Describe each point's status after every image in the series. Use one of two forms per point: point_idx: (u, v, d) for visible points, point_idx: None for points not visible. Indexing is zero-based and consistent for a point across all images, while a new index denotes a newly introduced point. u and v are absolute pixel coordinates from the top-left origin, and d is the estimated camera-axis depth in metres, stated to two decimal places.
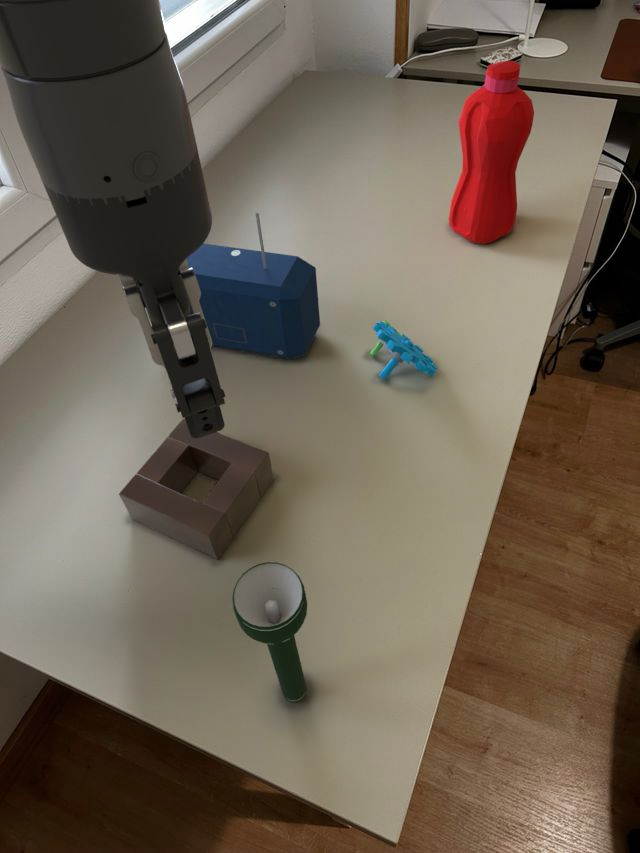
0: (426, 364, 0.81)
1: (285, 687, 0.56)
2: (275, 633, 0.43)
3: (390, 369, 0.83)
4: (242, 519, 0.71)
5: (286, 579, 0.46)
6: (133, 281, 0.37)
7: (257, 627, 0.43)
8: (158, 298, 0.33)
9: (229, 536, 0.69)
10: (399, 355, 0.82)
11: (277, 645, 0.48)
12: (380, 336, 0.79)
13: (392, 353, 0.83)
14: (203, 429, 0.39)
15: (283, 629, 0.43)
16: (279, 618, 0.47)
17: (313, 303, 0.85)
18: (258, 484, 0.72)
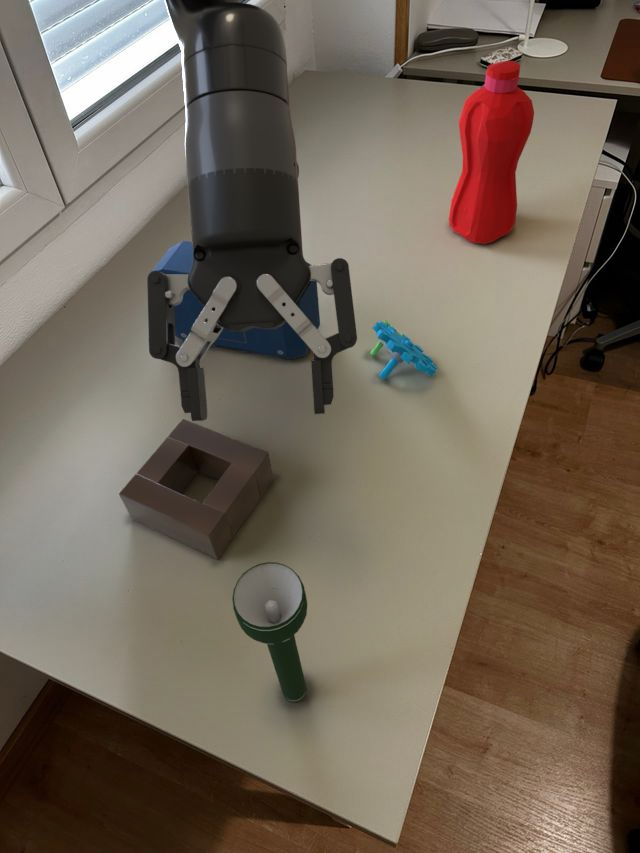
0: (426, 364, 0.81)
1: (285, 687, 0.56)
2: (275, 633, 0.43)
3: (390, 369, 0.83)
4: (242, 519, 0.71)
5: (286, 579, 0.46)
6: (234, 295, 0.44)
7: (257, 627, 0.43)
8: None
9: (229, 536, 0.69)
10: (399, 355, 0.82)
11: (277, 645, 0.48)
12: (380, 336, 0.79)
13: (392, 353, 0.83)
14: None
15: (283, 629, 0.43)
16: (279, 618, 0.47)
17: (313, 303, 0.85)
18: (258, 484, 0.72)
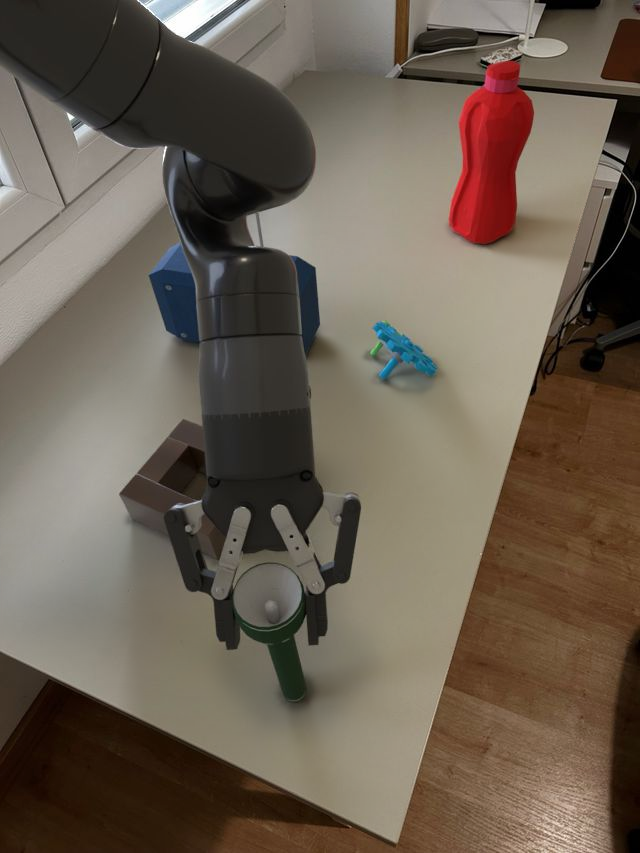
0: (426, 364, 0.81)
1: (285, 687, 0.56)
2: (275, 633, 0.43)
3: (390, 369, 0.83)
4: None
5: (286, 579, 0.46)
6: (250, 520, 0.44)
7: (256, 627, 0.43)
8: None
9: None
10: (399, 355, 0.82)
11: (276, 645, 0.48)
12: (380, 336, 0.79)
13: (392, 353, 0.83)
14: None
15: (283, 629, 0.43)
16: (279, 618, 0.47)
17: (313, 303, 0.85)
18: None
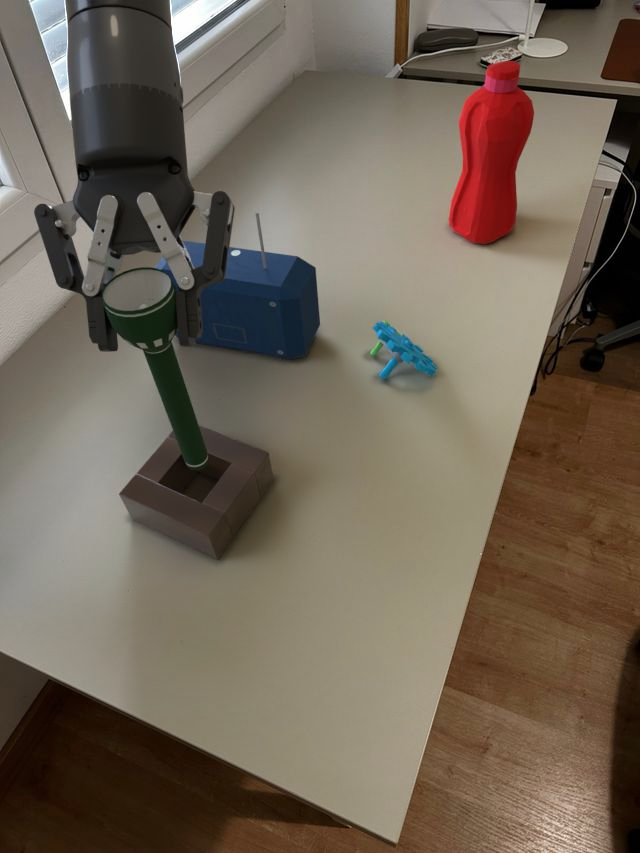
0: (426, 364, 0.81)
1: (181, 442, 0.56)
2: (141, 321, 0.43)
3: (390, 369, 0.83)
4: (242, 519, 0.71)
5: (160, 286, 0.46)
6: (119, 213, 0.44)
7: (122, 311, 0.43)
8: None
9: (229, 536, 0.69)
10: (399, 355, 0.82)
11: (157, 365, 0.49)
12: (380, 336, 0.79)
13: (392, 353, 0.83)
14: (198, 326, 0.46)
15: (149, 317, 0.43)
16: None
17: (313, 303, 0.85)
18: (258, 484, 0.72)
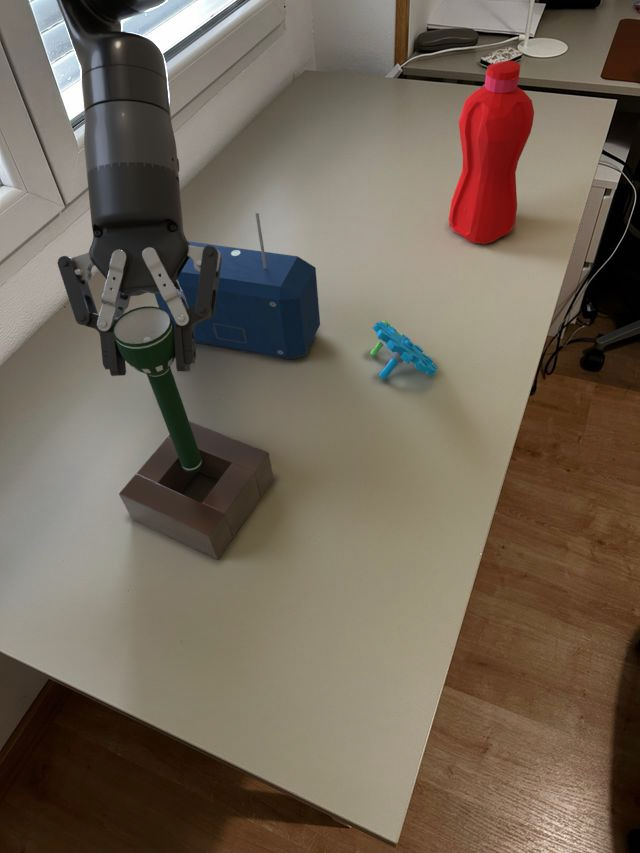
0: (426, 364, 0.81)
1: (178, 449, 0.66)
2: (145, 351, 0.53)
3: (390, 369, 0.83)
4: (242, 519, 0.71)
5: (161, 321, 0.56)
6: (127, 263, 0.54)
7: (130, 344, 0.53)
8: None
9: (229, 536, 0.69)
10: (399, 355, 0.82)
11: (158, 386, 0.59)
12: (380, 336, 0.79)
13: (392, 353, 0.83)
14: (192, 355, 0.56)
15: (152, 348, 0.53)
16: None
17: (313, 303, 0.85)
18: (258, 484, 0.72)
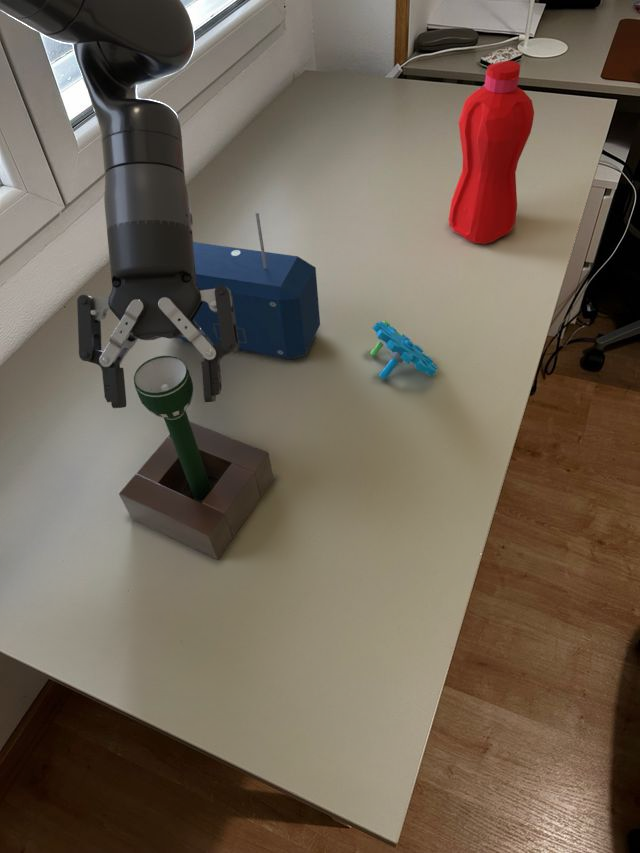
0: (426, 364, 0.81)
1: (191, 483, 0.70)
2: (164, 399, 0.58)
3: (390, 369, 0.83)
4: (242, 519, 0.71)
5: (177, 369, 0.61)
6: (142, 313, 0.58)
7: (149, 393, 0.57)
8: None
9: (229, 536, 0.69)
10: (399, 355, 0.82)
11: (174, 428, 0.63)
12: (380, 336, 0.79)
13: (392, 353, 0.83)
14: None
15: (170, 397, 0.58)
16: None
17: (313, 303, 0.85)
18: (258, 484, 0.72)
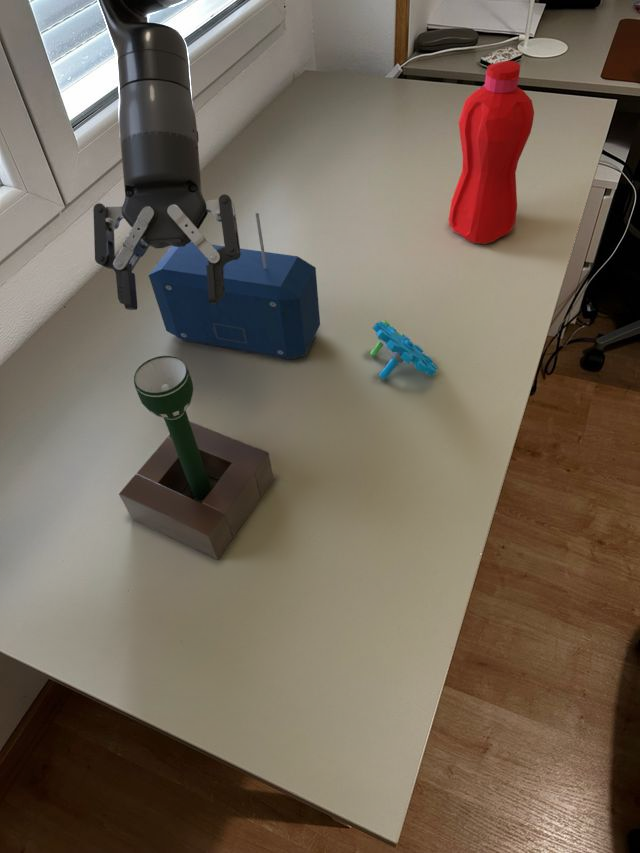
0: (426, 364, 0.81)
1: (191, 483, 0.70)
2: (164, 399, 0.58)
3: (390, 369, 0.83)
4: (242, 519, 0.71)
5: (177, 369, 0.61)
6: (153, 220, 0.64)
7: (149, 393, 0.57)
8: None
9: (229, 536, 0.69)
10: (399, 355, 0.82)
11: (174, 428, 0.63)
12: (380, 336, 0.79)
13: (392, 353, 0.83)
14: (222, 289, 0.65)
15: (170, 397, 0.58)
16: None
17: (313, 303, 0.85)
18: (258, 484, 0.72)
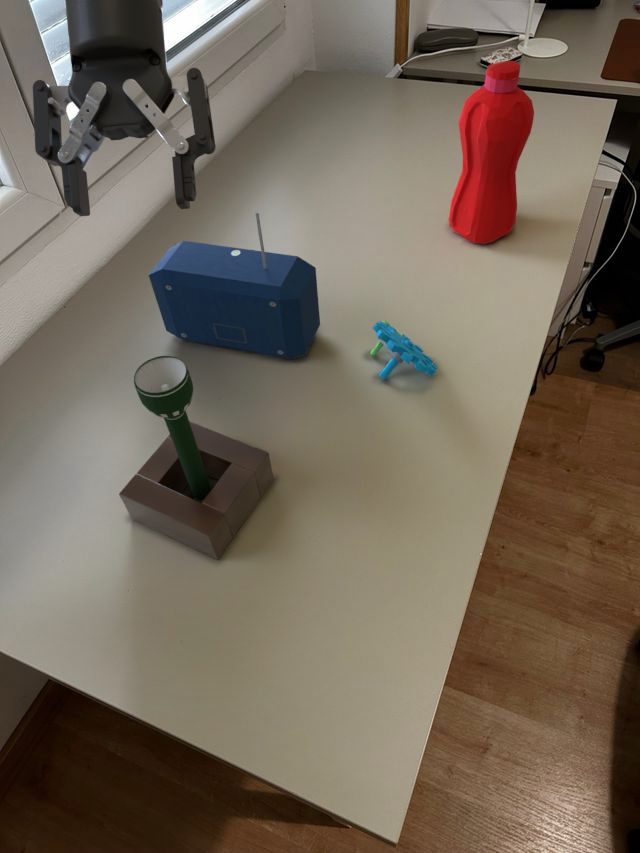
0: (426, 364, 0.81)
1: (191, 483, 0.70)
2: (164, 399, 0.58)
3: (390, 369, 0.83)
4: (242, 519, 0.71)
5: (177, 369, 0.61)
6: (106, 100, 0.52)
7: (149, 393, 0.57)
8: None
9: (229, 536, 0.69)
10: (399, 355, 0.82)
11: (174, 428, 0.63)
12: (380, 336, 0.79)
13: (392, 353, 0.83)
14: (192, 189, 0.53)
15: (170, 397, 0.58)
16: None
17: (313, 303, 0.85)
18: (258, 484, 0.72)
